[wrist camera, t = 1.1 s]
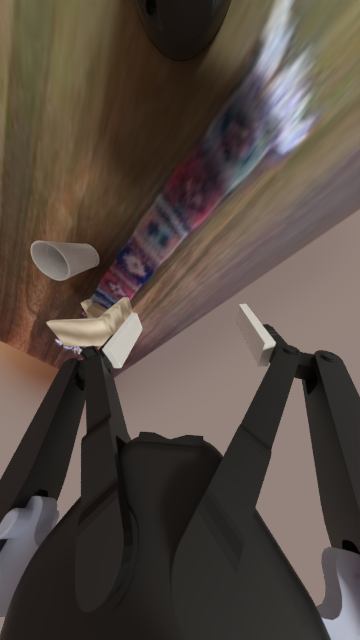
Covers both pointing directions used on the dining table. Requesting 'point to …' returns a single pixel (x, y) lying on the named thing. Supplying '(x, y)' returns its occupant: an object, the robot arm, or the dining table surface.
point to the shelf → (92, 324)
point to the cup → (63, 258)
